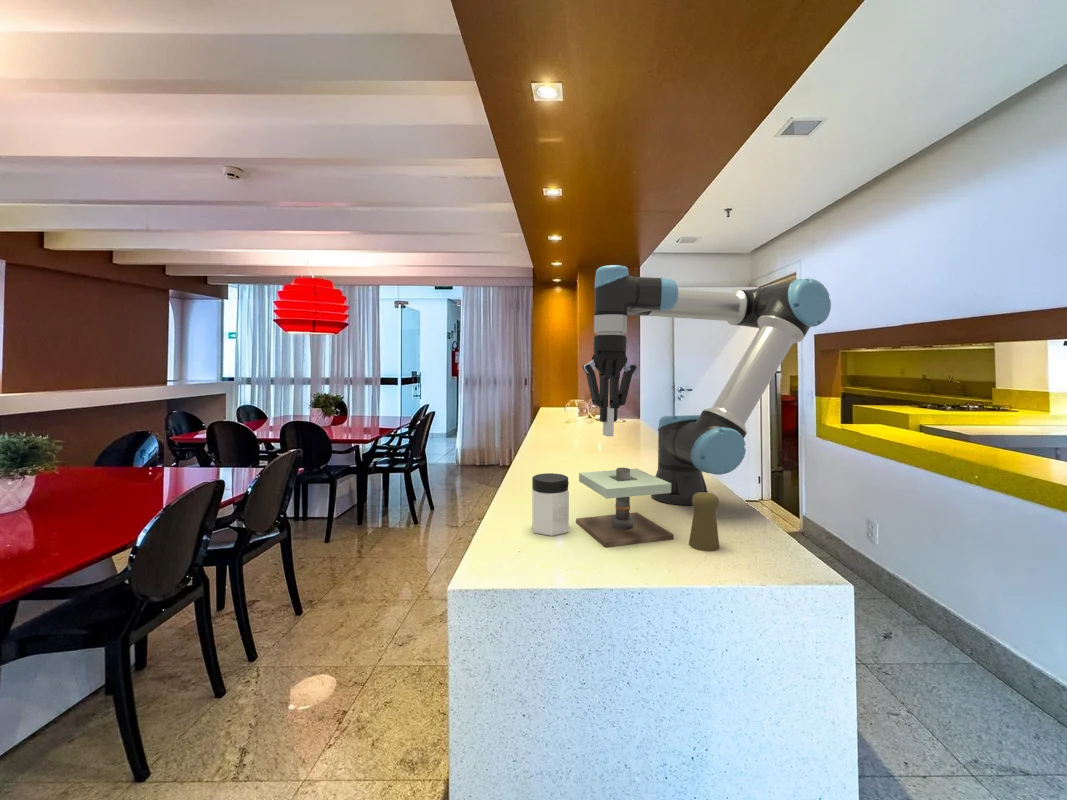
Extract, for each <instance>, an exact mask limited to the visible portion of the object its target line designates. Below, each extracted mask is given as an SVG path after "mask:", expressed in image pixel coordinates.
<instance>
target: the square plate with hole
mask: <svg viewBox="0 0 1067 800" xmlns="http://www.w3.org/2000/svg"><path fill="white" fill-rule="evenodd" d="M629 469H630V481H616V469H615V470H613V469H612V470H599V471H586V472H579V473H578V482H580V483H581V484H583V485H584V486H586V487H587V488H589V489H591V490H592V491H594V492H596V493H597V494H599V495H600V496H602V497H603V498H605V499H607V500H608V499H616V498H620V497H630V498H631V497H639V496H642V497H643V496H651V495H653V494H664V493H671V483H669V482H667V481H664V480H662V479H660V478H657V477H655V476H656V475H655V476H654V475H653V474H650V473H648V472H646V471H643V470H641V469H638V468H629Z"/></svg>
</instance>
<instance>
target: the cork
mask: <svg viewBox="0 0 1067 800" xmlns="http://www.w3.org/2000/svg"><path fill="white" fill-rule="evenodd" d="M719 503H720V501H719V498H718V496H717V495H716V494H714V493H712V492H709V491H708V492H698V493H696V494H694V495H693V498H692V505H691V506H692V507H693V508H694V511H693V516H692V517H693V518H692V522H691V528H690V535H689V541H688V545H689V547H690V546H691V547H690V548H692V549H694V550H698V551H702V552H715V551H718V550H719V549H720V541H719V540H720V539H719V530H718V523H717V513H716V511H717V509H718V508H719V506H720V505H719Z"/></svg>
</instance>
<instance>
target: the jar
mask: <svg viewBox="0 0 1067 800" xmlns="http://www.w3.org/2000/svg"><path fill="white" fill-rule="evenodd" d="M531 479H532V480H531V482H532V484H531V487H532V489H531V490H532V491H531V495H532V497H531V499H532V500H531V504H532V505H531V507H532V508H531V510H532V511H531V512H532V513H531V514H532V515H531V517H532V521H531V523H532V524H531V525H532V531H533V533H534V534H538V535H545V536H549V537H555V536H557V535H558V536H559V535H562V534H565V533H569V527H570V526H569V525H570V523H569V522H570V521H569V520H570V519H569V518H570V517H569V510H570V509H569V507H570V503H569V502H570V501H569V499H570V494H569V493H570V492H569V485H570V482H569V477H568V476H567V475H564V474H561V473H553V472H549V473H547V472H546V473H538V474H535V475H533V476H532V477H531Z"/></svg>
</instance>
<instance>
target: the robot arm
mask: <svg viewBox="0 0 1067 800" xmlns="http://www.w3.org/2000/svg"><path fill="white" fill-rule="evenodd" d="M593 289H594V316H593V317H594V319H593V320H594V321H593V323H594V324H593V332H594V334H596V335H594V336H593V355H592V357H591V361H589V362H588V363H587V364H583V365H582V369H583V371H584V374H586V379H587V383H588V388H589V394H590V398H591V403H592V405H595V406H596V407H599V420H600V422H602V435H603V436H605V437H614V427H615V425H614V424H615V422H617V421H618V409H619V408H620V407H621V406H625V404H626V402H627V398H628V395H629V394H628V393H629V390H630V385H631V382H632V377H633V374H634V373H635V372H636V370H637V365H636V364H632V363H630V361H628V356H627V343H628V341H627V340H628V339H627V338H628V337H627V336H626V335H625V334H627V332H628V317H629V316H643V317H661V318H674V319H675V318H677V319H691V320H692V319H694V320H704V321H705V320H706V321H708V320H709V321H721V322H723V321H725V322H727V323H728V324H729V325H731V326H740V327H747V328H756V329H758V331H757V333H756V334H755V335H754V337H753V339H752V340H751V342H750V344H749V345H748V348H747V349H746V351H745V352H744V354H743V355H742V357H741V358H740V361H739V362H738V364H737V365H736V367H735V369H733V370H734V371H733V372H732V374H731V376H730V378H729V379H728V380H727V382H726V384H725V385H724V387H723V389H722V390H721V392H720V394H719V395H718V397H717V398H716V400H715V402H714V403H713V405H712V406H711V407H710V408H704V409H703V410H701V411H702V412H701V413H700V414H693V415H691V414H690V415H689V414H688V415H687V414H685V415H684V414H683V415H664V416H662V417H660V418H659V420H658V427H657V431H658V433H657V434H658V442H657V443H658V444H657V446H658V447H657V448H658V449H657V470H656V473H655V477H657V478H660V479H662V480H664V481H667V482H669V483H671V493H664V494H653V495H650V497H651V498H652V499H653V500H656V501H658V502H660V503H664V504H669V505H670V504H671V505H679V506H693V505H692V498H693V495H694V494H696V493H698V492H708V493H709V491H708V488H707V485H706V481H705V479H704V478H705V477H704V474H703V473H706V474H711V475H714V476H715V475H716V476H717V475H719V476H720V475H726V474H729V473H731V472H733V471H734V470H736V469H737V468H738V467H739V466H740V465H741V463H742V462H743V460H744V458H745V456H746V452H747V450H746V448H745V447H746V441H745V438H746V435H747V434H748V431H747V427H746V423H747V421H748V419H749V417H750V416H751V415H752V413H753V411H754V409H755V408H756V406H757V405H758V402H759V401H760V399H761V398H762V396H763V395H764V392H765V391H766V389H767V388H768V386H769V384H770V382H771V381H772V379H773V378H774V376H775V374H776V373H777V371H778V369H779V367H780V366H781V364H782V363H783V361H784V359H785V358H786V355H787V354H788V353H789V350H790V349H791V348H792V345H793V344H797V343H800V342H802V341H803V340H804V338H805V337H806V335H807V334H808V332H809V330H810V329H811V327H812V328H813V327H817V326H819V325H821V324H823V323H824V322H825V321H826V320H827V319H828V317H829V315H830V313H831V308H832V302H831V299H830V293H829V291H828V290H827V288H826V286H825V285H824V284H823V283H821V282H820V281H819V280H817V279H814V278H798V279H797V278H796V279H794V280H792V281H788V282H783V283H777V284H770V285H767V286H763V287H762V286H761V287H758V288H754V289H753V288H752V289H735V290H734V289H733V290H732V291H731V292H724V291H709V290H697V289H696V290H695V289H682V288H679V287H678V284H677V282H676V281H675V280H674V279H672V278H666V277H662V276H661V277H650V276H649V277H647V276H646V277H645V276H632V275H630V274H629V268H628V267H627V266H625V265H620V264H609V265H603V266H600V267H598V268H597V269H596V270H595V277H594V287H593ZM595 369H596V370H597V372H598V378H599V386H598V381H597V377H596V376H597V375H596V373H595ZM622 370H623V373H622V377H621V372H622ZM620 377H621V378H620ZM620 379H621V382H620Z"/></svg>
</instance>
